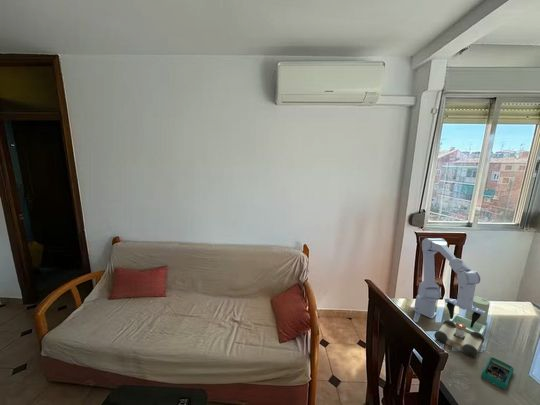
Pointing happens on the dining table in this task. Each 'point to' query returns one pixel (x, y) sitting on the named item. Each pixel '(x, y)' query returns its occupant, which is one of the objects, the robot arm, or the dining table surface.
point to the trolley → (467, 345)
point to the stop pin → (460, 330)
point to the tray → (467, 323)
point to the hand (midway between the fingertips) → (461, 322)
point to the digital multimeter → (497, 372)
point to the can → (480, 304)
